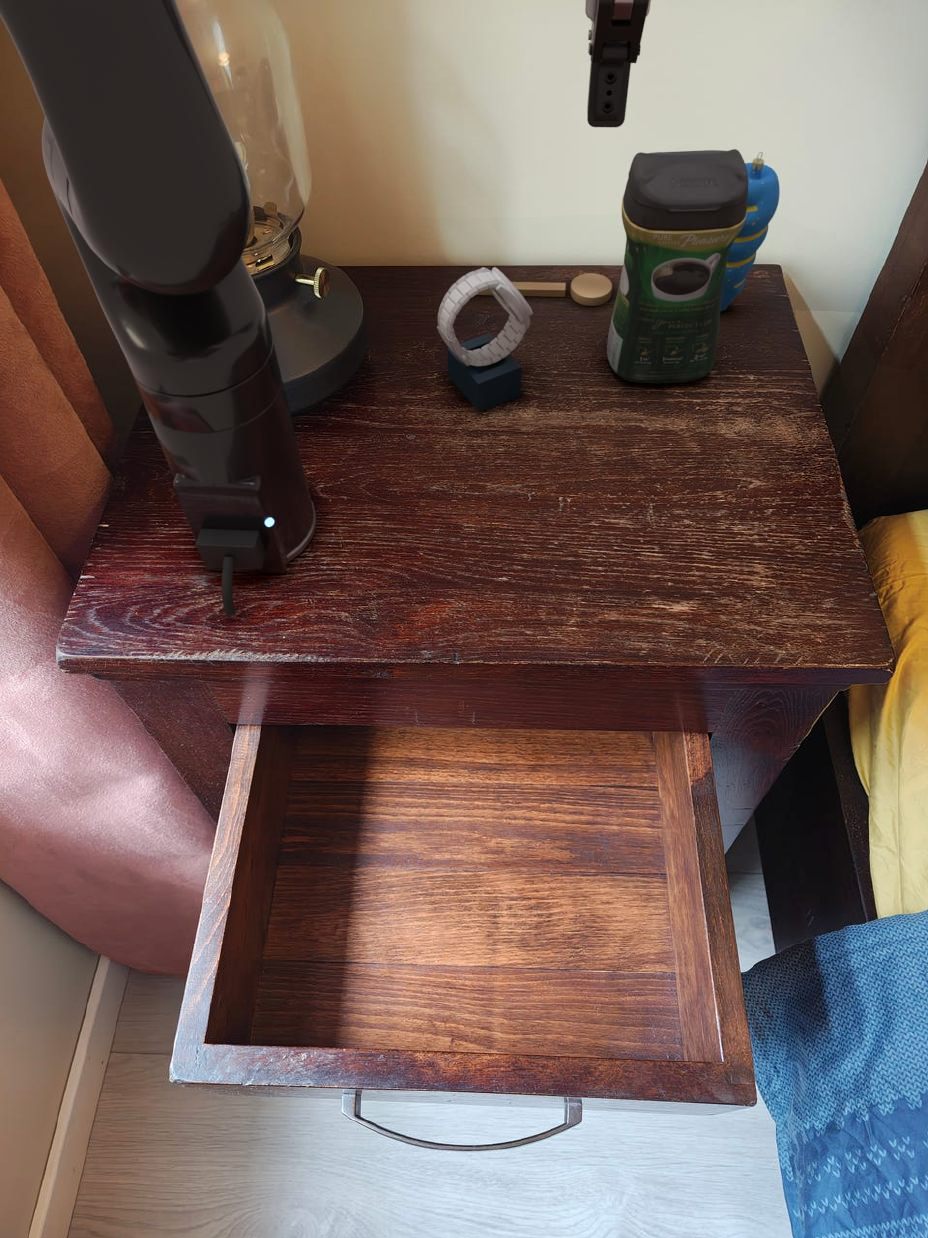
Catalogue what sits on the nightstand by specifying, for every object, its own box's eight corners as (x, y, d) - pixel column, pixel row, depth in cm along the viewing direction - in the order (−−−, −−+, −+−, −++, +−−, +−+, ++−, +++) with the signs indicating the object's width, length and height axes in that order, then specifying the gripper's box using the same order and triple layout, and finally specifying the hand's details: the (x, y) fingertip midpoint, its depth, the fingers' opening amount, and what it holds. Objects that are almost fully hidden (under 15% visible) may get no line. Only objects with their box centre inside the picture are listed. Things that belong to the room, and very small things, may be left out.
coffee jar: (704, 331, 86) (748, 129, 70) (717, 387, 81) (767, 183, 66) (600, 333, 86) (622, 133, 71) (608, 389, 81) (633, 187, 66)
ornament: (683, 310, 87) (714, 154, 75) (714, 286, 90) (748, 130, 77) (729, 332, 85) (768, 176, 73) (759, 307, 87) (802, 150, 75)
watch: (539, 387, 82) (545, 278, 73) (461, 419, 79) (456, 310, 71) (507, 353, 84) (509, 244, 76) (431, 382, 82) (423, 274, 73)
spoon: (611, 306, 88) (612, 297, 87) (472, 303, 89) (472, 294, 88) (610, 282, 90) (611, 273, 90) (475, 279, 91) (475, 270, 91)
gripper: (560, -307, 45) (545, 70, 59) (555, -236, 37) (539, 178, 51) (715, -310, 44) (662, 71, 59) (742, -239, 37) (674, 180, 51)
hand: (605, 121), depth 55 cm, fingers closed
